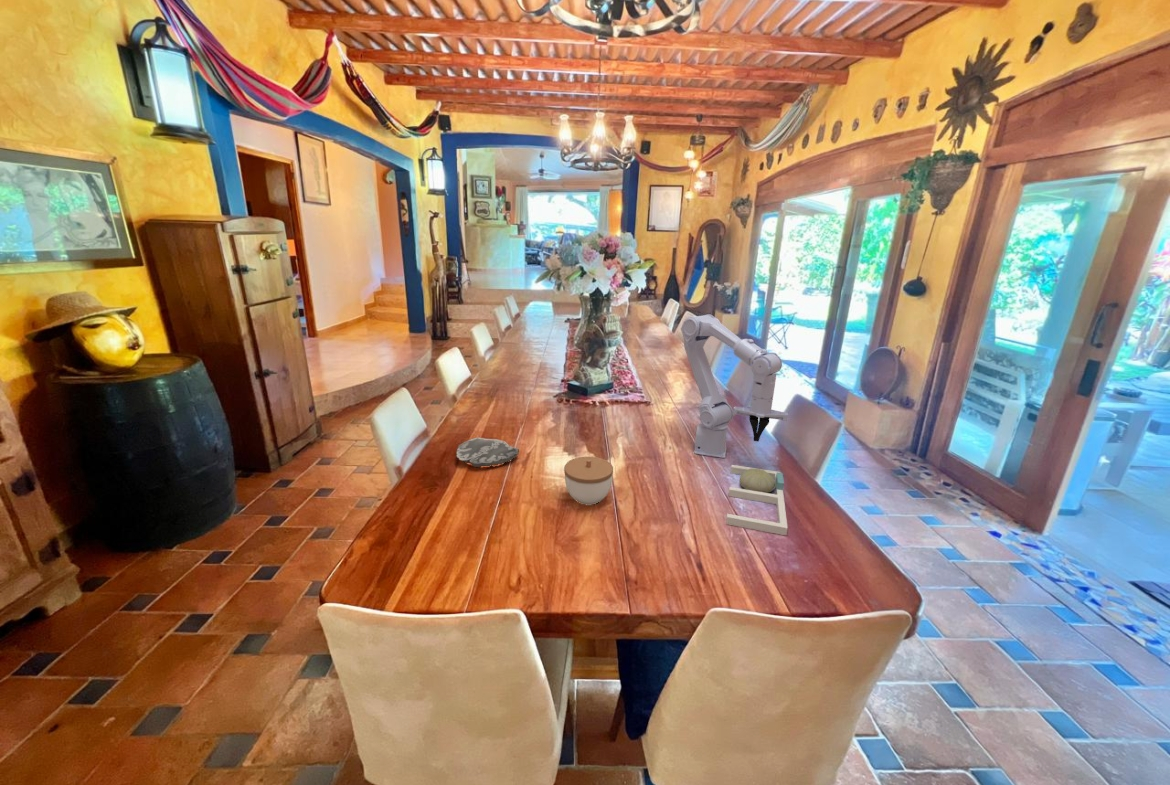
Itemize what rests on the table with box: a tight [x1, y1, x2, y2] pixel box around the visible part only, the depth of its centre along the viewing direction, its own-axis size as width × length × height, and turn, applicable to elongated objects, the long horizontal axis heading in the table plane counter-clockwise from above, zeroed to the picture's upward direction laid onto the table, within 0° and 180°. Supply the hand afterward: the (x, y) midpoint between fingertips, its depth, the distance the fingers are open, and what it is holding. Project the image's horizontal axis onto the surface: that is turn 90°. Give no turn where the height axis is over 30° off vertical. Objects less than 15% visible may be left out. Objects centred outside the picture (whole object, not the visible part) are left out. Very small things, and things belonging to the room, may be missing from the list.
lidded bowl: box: [563, 456, 614, 506], centre depth 121 cm, size 13×13×11 cm
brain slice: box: [456, 437, 520, 468], centre depth 144 cm, size 20×17×3 cm
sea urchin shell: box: [739, 467, 775, 493], centre depth 129 cm, size 9×8×8 cm
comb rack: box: [725, 464, 789, 536], centre depth 123 cm, size 14×28×4 cm, turn 161°
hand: (756, 439), depth 136 cm, fingers closed
